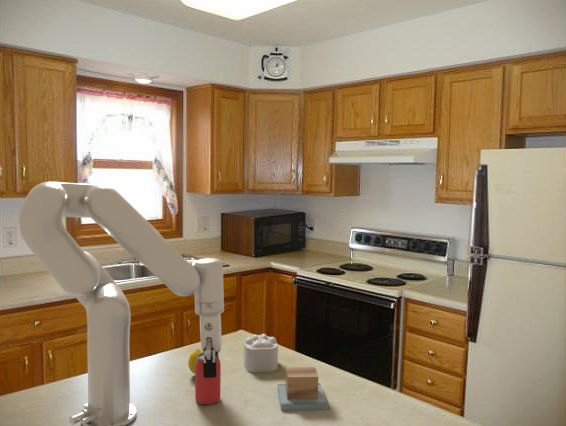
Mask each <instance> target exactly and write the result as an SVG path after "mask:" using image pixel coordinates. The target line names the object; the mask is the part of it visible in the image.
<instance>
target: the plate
mask: <svg viewBox="0 0 566 426" xmlns="http://www.w3.org/2000/svg"><path fill="white" fill-rule="evenodd" d="M277 392H278V400H279V406H280V411H302V410H303V411H305V410H306V411H307V410H314V411H315V410H328V401H327V398H326V395H325V392H324V390H323V387H322V385H321V383H320V382H318V399H287V394H286V383H277Z"/></svg>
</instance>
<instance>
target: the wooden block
mask: <svg viewBox="0 0 566 426" xmlns="http://www.w3.org/2000/svg"><path fill="white" fill-rule="evenodd" d="M318 374H319V373H318V372H317V368H316V366H286V367H285V384H286V394H287V399H318V383H319V375H318Z"/></svg>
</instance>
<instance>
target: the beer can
mask: <svg viewBox="0 0 566 426" xmlns="http://www.w3.org/2000/svg"><path fill="white" fill-rule="evenodd" d="M211 355H212V356H213V354H211ZM219 356H220V355H219V353H218V354H216V353H215V361H216V377H212V378H204V372H203V362H204V353H201V354H199V355H198V357H197V358H198V359H197V361H196V365H195V378H194V380H195V383H194V385H195V386H194V387H195V390H194V393H195V395H194V397H195V401H196V402H197V404H198V403H199V405H204V406H205V405H214V404H216V403H219V401H220V399H221V372H222V367H221V366H222V365H221V363H222V362H221V360H220V358H219Z"/></svg>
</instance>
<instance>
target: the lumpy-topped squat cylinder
mask: <svg viewBox="0 0 566 426" xmlns="http://www.w3.org/2000/svg"><path fill="white" fill-rule="evenodd" d="M278 355H279V344H278V342H277V339H276V337H274V336H268V335H267V334H265V333H261V334H252V336H249V337H246V338H245V340H244V342H243V367H244V369H245V370H246V371H247V372H250V373H261V372H275V371H277V370H278V364H279V363H278V361H279V360H278Z"/></svg>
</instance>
